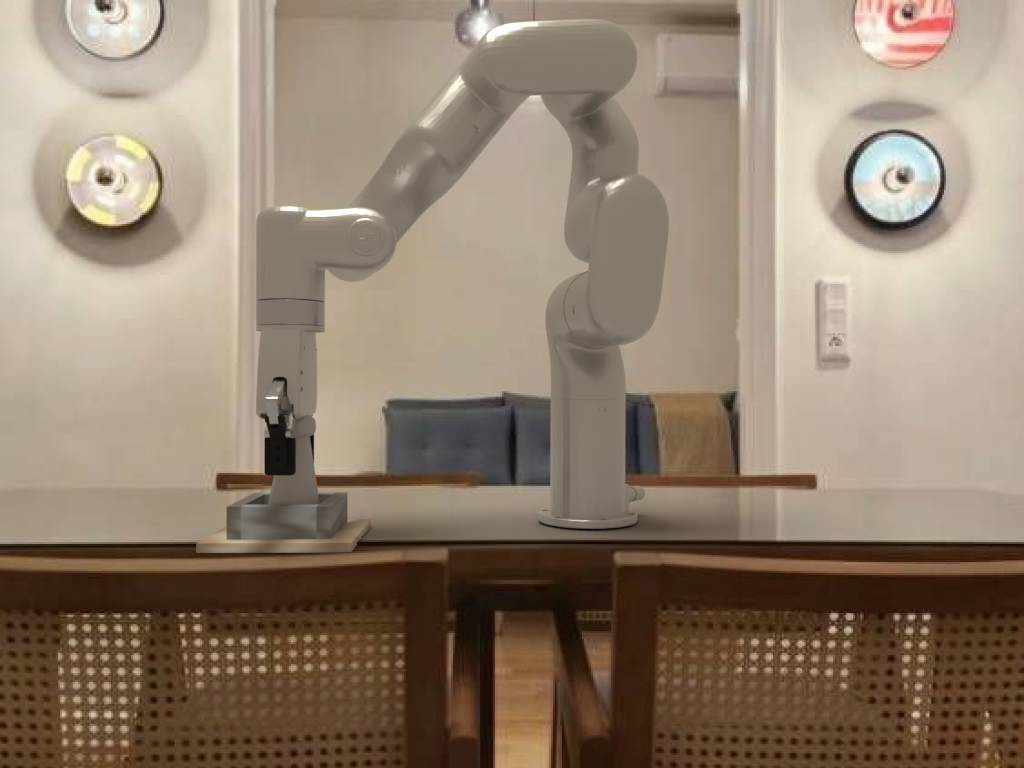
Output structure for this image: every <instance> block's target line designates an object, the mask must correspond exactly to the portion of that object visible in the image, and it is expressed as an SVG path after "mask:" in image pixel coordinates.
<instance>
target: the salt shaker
mask: <svg viewBox="0 0 1024 768" xmlns="http://www.w3.org/2000/svg"><path fill="white" fill-rule="evenodd" d="M285 422H286V425H287V421H285ZM316 429H317V423H316V418H314V416H312V417H311V416H305V417H303V418H301V419H295V425H294V430H293V436H292V438H296V472H295V474H294V475H274V476H273V479H272V483H271V488H270V492H269V493H270V496H269V500H268V505H281V504H320V503H319V496H318V493H319V490H318V484H317V478H316V477H317V475H316V469H315V461H314V462H313V455H312V448H311V442H310V436H312V435H314V436H315V433H316Z"/></svg>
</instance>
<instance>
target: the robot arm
mask: <svg viewBox="0 0 1024 768" xmlns="http://www.w3.org/2000/svg"><path fill="white" fill-rule="evenodd" d="M637 64H638V51H637V47H636V45H635V42H634V39H632V37H631V35H630V34H629V33H628V32H627V31H626V30H625V29H624V28H623V27H622V26H620V25H619V24H617V23H614V22H612V21H611V20H610V21H609V20H605V19H600V18H599V19H598V18H596V19H595V18H583V19H579V18H578V19H562V20H561V19H558V20H557V19H556V20H555V19H554V20H553V19H551V20H529V21H527V20H526V21H516V22H509V23H503V24H499V25H496V26H494V27H492V28H491V29H489V30H488V31H487V32H486V33H484V34H483V35H482V37H481V38H480V39H479V40H478V43H477V44H476V45H474V47H473V49H472V50H471V51H470V52H469V53H468V54H467V56H466V57H465V58H464V60H463V61H462V62H461V63H460V64H459V66H458V67H457V68H456V70H454V72H453V73H452V74H451V75H450V76H449V78H448V79H447V80H446V81H445V82H444V84H442V86H441V87H440V89H439V90H438V91H437V92H436V93H435V94H434V95H433V96H432V97H431V98H430V100H429V101H428V102H427V104H426V105H425V106H424V107H423V109H421V111H420V112H419V113H418V114H417V115H416V117H414V119H413V120H412V121H411V122H410V123H409V125H408V126H407V127H406V128H405V129H404V131H403V132H402V133H401V134H400V136H399V137H398V139H397V140H396V142H395V143H394V144H393V146H392V147H391V149H390V151H389V152H388V154H387V155H386V157H385V158H384V161H383V162H382V163H381V165H380V167H378V169H377V171H376V172H375V173H374V175H373V176H372V177H371V179H370V180H369V181H368V183H367V184H366V185H365V186H364V187H363V189H361V191H360V192H359V193H358V195H357V196H356V197H355V198H354V199H353V200H352V202H351V203H350V204H349V205H348V206H347V207H341V208H329V209H328V208H327V209H325V208H324V209H313V208H309V207H303V206H296V205H274V206H269V207H267V208H264V209H262V210H261V211H259V213H258V215H257V218H256V223H255V224H256V226H255V230H256V231H255V238H256V241H255V242H256V245H255V246H256V247H255V249H256V250H255V252H256V253H255V254H256V255H255V256H256V257H255V261H256V262H255V263H256V264H255V265H256V266H255V267H256V268H255V270H256V271H255V272H256V273H255V274H256V275H255V276H256V277H255V281H256V282H255V293H256V294H255V329H256V332H257V331H258V332H260V337H259V347H258V357H257V371H256V372H257V373H256V375H257V376H256V397H255V414H256V416H257V417H258V419H260V420H264V422H265V425H264V426H265V427H264V434H263V435H264V450H263V451H264V460H263V461H264V463H263V464H264V465H263V466H264V467H263V468H264V475H266V476H267V477H269V476H273V477H274V475H294V474H295V472H296V438H292V436H293V430H294V425H295V419H301V418H303V417H305V416H311V417H314V414H315V413H316V412H317V411H316V410H317V406H318V405H317V403H318V358H317V357H318V356H317V353H318V352H317V351H318V349H317V334H316V333H325V332H326V331H325V330H326V328H325V327H326V320H325V319H326V317H325V316H326V303H325V302H326V300H325V299H326V289H325V288H326V287H325V285H326V280H325V279H326V278H325V277H326V270H327V271H328V273H330V274H331V275H332V276H334V277H335V278H337V279H338V280H341V281H344V282H348V283H349V282H351V283H353V282H354V283H355V282H360V281H364V280H366V279H368V278H369V277H371V276H372V275H374V274H376V273H377V272H378V271H380V270H382V269H383V268H384V267H385V266H387V265H388V263H389V262H390V261H391V260H392V258H393V256H394V254H395V252H396V250H397V245H398V243H399V242H400V240H401V239H402V238H403V236H404V235H406V233H407V232H408V231H409V230H410V228H411V227H412V226H414V225H415V223H416V222H417V220H419V219H420V218H421V216H422V215H423V214H424V213H425V212H426V211H428V210H429V208H430V207H431V206H433V205H434V204H435V203H437V201H439V200H440V199H441V198H442V197H443V196H445V195H446V194H447V193H448V192H449V191H450V190H451V189H453V187H454V186H455V184H456V183H457V182H458V181H459V180H460V179H461V178H462V176H464V174H465V173H466V172H467V171H468V170H469V168H470V167H471V166H472V165H473V163H474V162H475V161H476V160H477V158H478V157H479V156H480V154H481V153H482V152H483V151H484V149H485V148H487V145H488V144H490V142H491V141H492V140H493V138H495V136H496V135H497V134H498V132H499V131H500V130H501V129H502V128H503V126H504V125H505V124H506V123H507V121H509V120H510V118H511V116H512V115H513V114H514V113H515V112H516V111H517V109H518V108H520V106H521V105H522V104H523V103H525V101H526V100H528V99H529V98H530V97H534V96H535V97H536V96H540V98H541V100H542V102H543V104H544V107H546V110H547V112H549V114H551V116H553V117H554V119H556V120H557V122H559V124H560V125H561V127H562V128H563V129H564V131H565V132H566V134H567V136H568V139H569V142H570V144H571V154H572V155H571V168H570V169H571V172H570V181H569V187H568V195H567V201H566V209H565V210H566V211H565V218H564V223H563V224H564V225H563V235H564V236H563V237H564V241H565V245H566V246H567V249H568V251H569V252H570V253H571V255H573V256H574V258H576V259H577V260H579V261H581V262H583V263H587V264H588V270H587V271H584V272H583V271H582V272H579V273H576V274H574V275H571V276H569V277H567V278H566V279H564V280H563V281H561V282H560V283H559V284H558V285H556V287H555V288H554V290H552V293H551V294H550V295H549V298H548V300H547V303H546V307H545V313H544V315H545V316H544V317H545V322H544V323H545V331H546V338H547V344H548V345H547V346H548V354H549V364H550V367H549V369H550V446H549V447H550V450H549V451H550V456H549V457H550V467H549V468H550V469H549V471H550V473H549V476H550V477H549V478H550V479H549V480H550V482H549V483H550V485H549V487H550V490H549V491H550V493H549V495H550V496H549V497H550V498H549V499H550V500H549V503H550V505H549V507H545V508H542V509H540V510H539V511H538V512H537V519H538V521H539V522H540V523H542V524H544V525H547V526H553V527H559V528H567V529H582V530H583V529H586V530H587V529H588V530H595V529H596V530H598V529H599V530H600V529H601V530H603V529H604V530H605V529H615V528H616V529H617V528H624V527H625V528H626V527H629V526H633V525H635V524H637V522H638V513H637V512H636V511H635V510H633V509H630V508H629V504H630V503H631V502H637V501H641V500H643V499H644V498H645V496H646V492H645V489H644V488H643V487H642V486H641V485H634V486H630V485H629V483H626V406H627V405H626V400H627V399H626V398H627V394H626V393H627V383H626V372H625V365H624V361H623V355H622V351H621V346H624V345H628V344H631V343H634V342H637V341H639V340H641V338H643V337H644V336H645V335H646V334H647V333H648V332H649V331H650V330H651V329H652V327H653V325H654V323H655V321H656V320H657V316H658V313H659V309H660V305H661V299H662V292H663V291H662V290H663V282H664V276H665V269H666V268H665V267H666V260H667V259H666V258H667V249H668V244H669V243H668V241H669V232H670V230H669V229H670V217H669V211H668V210H669V209H668V206H667V202H666V199H665V197H664V195H663V193H662V191H661V190H660V188H659V187H658V186H657V185H656V183H654V181H652V180H651V179H649V178H647V177H646V176H643V175H641V174H638V173H639V158H640V152H639V150H640V149H639V148H640V145H639V139H638V135H637V131H636V129H635V127H634V124H633V123H632V121H631V120H630V118H629V116H628V115H627V113H626V112H625V110H624V109H623V108H622V106H621V104H620V103H619V102H618V100H617V99H616V98H615V97H614V96H616V95H617V94H619V93H620V92H621V91H623V90H624V89H625V87H626V86H627V85H629V83H630V82H631V81H632V78H633V77H634V75H635V72H636V69H637V66H638V65H637ZM285 421H287V425H286V422H285ZM310 442H311V448H312V455H313V462H314V463H315V434H314V435H312V436H310Z"/></svg>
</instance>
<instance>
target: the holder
mask: <svg viewBox="0 0 1024 768" xmlns="http://www.w3.org/2000/svg"><path fill="white" fill-rule="evenodd" d="M269 496H270V492H254V493H251V494H249V495H247V496H246V497H244V498H242V499H239V500H238V501H235V502H232V503H231V504H229V505H227V506H226V526H224V527H222V528H221V529H218V530H217V531H216V532H214V533H212V534H210V535H208V536H207V537H205V538H203V539H201V540H200V541H198V542H196V545H195V546H196V547H195V553H196V554H245V553H246V554H256V553H258V554H259V553H260V554H262V553H263V554H264V553H265V554H266V553H269V554H270V553H271V554H272V553H273V554H274V553H275V554H276V553H277V554H278V553H280V554H281V553H283V554H285V553H288V554H291V553H295V554H297V553H299V554H301V553H304V554H305V553H319V554H320V553H352V552H353V551H354V549H355V548H356V547H357V546H358V544H357V542H358V541H359V540H360V538H361V537H362V536H363V535H364V534H365V533H366V534H367V533H368V531H369V530H370V528H371V527H372V525H371V523H372V521H371V518H348V492H347V491H346V492H345V491H344V492H335V491H334V492H330V491H329V492H318V496H319V503H320V504H281V505H268V500H269ZM366 534H365V535H366ZM365 535H364V536H365ZM364 536H363V537H364ZM360 541H361V540H360ZM360 541H359V542H360Z"/></svg>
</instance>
